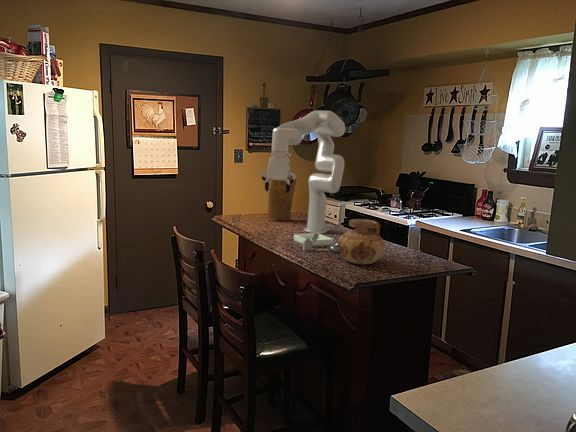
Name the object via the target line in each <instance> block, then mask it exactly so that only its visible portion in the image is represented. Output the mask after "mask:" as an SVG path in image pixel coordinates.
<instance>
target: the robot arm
mask: <svg viewBox="0 0 576 432" xmlns="http://www.w3.org/2000/svg"><path fill="white" fill-rule="evenodd" d="M345 131H346V125H345V122H344V121H343V120H342V118H340V117H339V116H338V115H337V114H336V113H335V112H333V111H331V110H320V109H319V110H313V111H312V110H311V112H309V113H307V114H306V115H305V116H303V117H302V118H299V119H295V120H292V121H288V122H284V123H282V124H280V125H279V126H277V127H275V128H273V130H272V139H271V140H272V141H271V152H270V153H271V154H270V155H271V156H270V157H269V160H268V164H267V169H266V170H263V171H261V172H260V173H259V175H260V177H261V179H262V181H263V182H264V190H265V192H269V186H270V180H271V179H275V180H285V181H286V182H287V185H286V193H289V191H290V184H291V183H292V182H294V180H295V179H296V177H297V176H296V175H297V174H295V173H293V172H291V170H290V169H291V163H290V162H291V161H290V158H289V157H292V154H291V153H289V146H290V145H291V146H297V145H300V144H301V142H302V140H303V136H306V135H310V134H311V133H312V132H315V135H316V138H317V142H318V148H317V152H316V157H315V162H314V168H315V169H316V170H317V171H320V172H324V173H320V172H318V173H317V172H314V173H312V174H311V175H309V177H308V181H307V182H308V183H307V184H308V207H307V209H308V210H307V221H306V222H307V223H306V227H304V228H303V230H304V232H305V233H309V234H313V233H315V232H316V233H319V234H326V233H328V229H331V228H333V224H332V223H326V214H327V213H326V212H327V211H326V210H327V202H328V201H327V197H326V195H325V193H331V194H336V193H338V192H339V191H340V187H341V184H342V179H343V174H344V170H345V159H344V157H343V156H342V155H340V154H334V150H335V142H334V141H333V139H332V137H334V138H335V137H336V138H337V137H338V138H339V137H341V136H343V135H344V134H345ZM328 173H331V174H328ZM265 174H266V176H265ZM290 175H291V176H292V177H293V178H292V179H291V180H289V177H290ZM297 178H298V177H297ZM296 180H297V179H296Z"/></svg>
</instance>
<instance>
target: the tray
mask: <svg viewBox="0 0 576 432" xmlns="http://www.w3.org/2000/svg"><path fill="white" fill-rule="evenodd" d="M314 234H315V233H298V234H297V233H296V234H294V235H293V241H295V242H297V243H299V244H301V245H303V241H305V240H306V239H310V240H312V238H313V236H314ZM318 234H319V236H318V238H317V240H316V242H313V245H312V248H313V247H327V246H328V247H329V245H332V244H335V242H334V241H335V239H334V238H332V237H329V236H327V235H323V233H318Z"/></svg>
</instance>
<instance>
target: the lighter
mask: <svg viewBox="0 0 576 432" xmlns="http://www.w3.org/2000/svg"><path fill="white" fill-rule="evenodd" d="M319 234H320V233H319ZM319 234H318V233H316V232H315V234H314V236H313V238H312V240H310V239H306V240H305V241H303V244H302V251H306V252H307V251H309V252H310V251H313V247H312V245H313V242H316V240H317V238H318V236H319Z"/></svg>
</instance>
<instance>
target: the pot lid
mask: <svg viewBox="0 0 576 432" xmlns="http://www.w3.org/2000/svg"><path fill="white" fill-rule="evenodd" d="M338 243H339V242H337V243H334V244H332V245H329V246H328V251H329V252H330V253H332V254H336V255H337V254H340V251H339V246H338ZM340 255H341V254H340Z"/></svg>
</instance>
